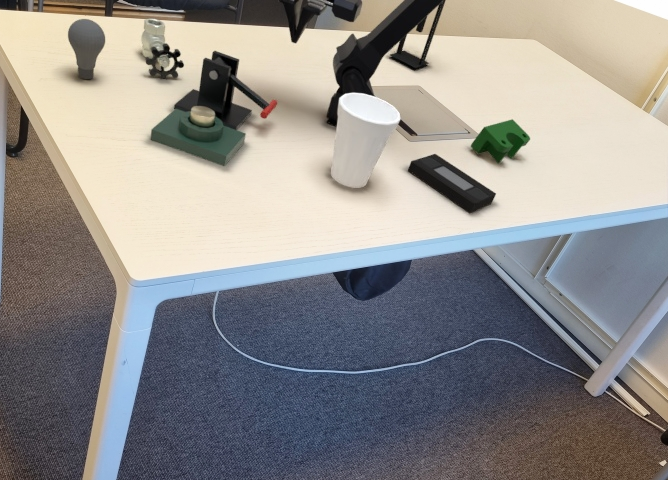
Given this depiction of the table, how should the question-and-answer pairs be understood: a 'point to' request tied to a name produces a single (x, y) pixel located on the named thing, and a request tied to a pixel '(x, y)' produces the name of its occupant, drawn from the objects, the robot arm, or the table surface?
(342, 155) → the cup
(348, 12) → the robot arm
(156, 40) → the valve
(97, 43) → the light bulb
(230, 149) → the button box
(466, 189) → the vhs tape
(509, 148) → the clamp
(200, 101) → the bracket
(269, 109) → the lever
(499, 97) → the table surface
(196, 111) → the button
